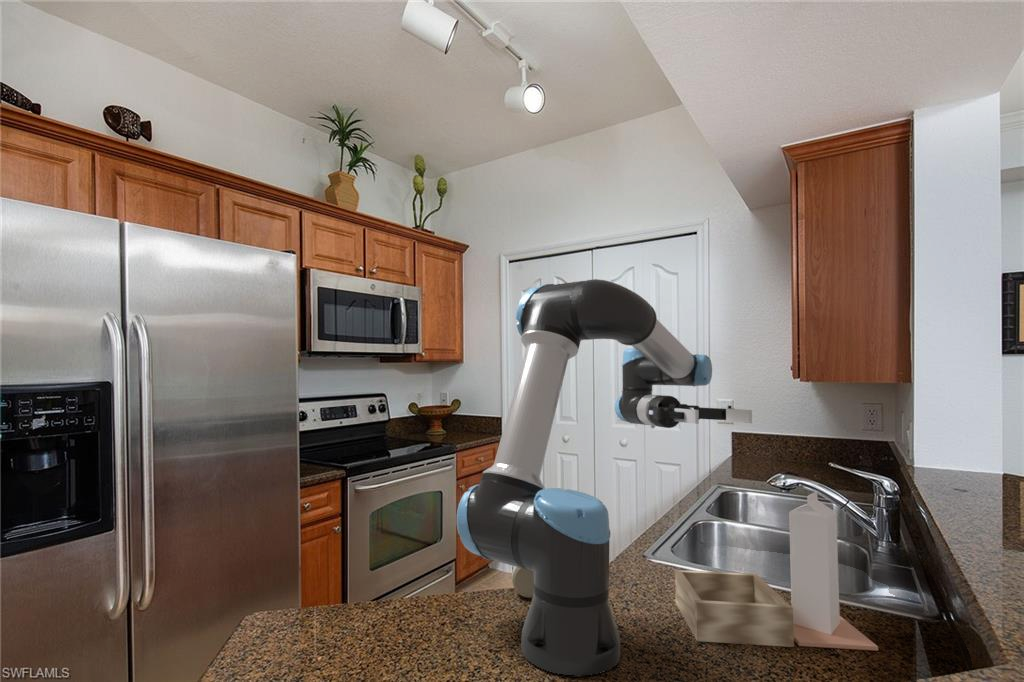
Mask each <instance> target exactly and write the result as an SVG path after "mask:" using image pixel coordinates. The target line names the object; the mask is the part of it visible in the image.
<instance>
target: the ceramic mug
mask: <svg viewBox="0 0 1024 682" xmlns="http://www.w3.org/2000/svg"><path fill="white" fill-rule="evenodd" d="M511 580H512V585H513V587H514V590H515V591H516V592H517V593H518V594H519V595H520V596H521V597H524V598H525V599H526V598H527V599H533V593H534V572H533V571H530V570H527V569H523V568H519V567H516V566H512V571H511ZM515 588H520V589H515Z"/></svg>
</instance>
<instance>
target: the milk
mask: <svg viewBox="0 0 1024 682" xmlns="http://www.w3.org/2000/svg"><path fill="white" fill-rule="evenodd" d="M806 500H807V501H806V503H804V504H803V505H800V506H798V507H796V508H794V509H791V510H790V511H789V512H788V516H789V520H788V521H789V525H788V526H789V558H790V559H789V560H790V561H789V562H790V563H789V564H790V565H789V566H790V602H791V603H790V605H791V606H792V607H793V624H796V625H799V626H802V627H805V628H809V629H812V630H815V631H818V632H822V633H825V634H828V635H831V634H832V633H833V632H834V631H835V629H836V628H837V627H838V626H839V624H840V616H841V614H840V586H839V558H838V557H839V555H838V525H837V512H836V511H835V510H833V509H832V508H830V507H828V506H827V505H826V504H824V503H822V502H821V500H818V492H817V491H814V492H812V493H810V494H808V495H807V497H806Z"/></svg>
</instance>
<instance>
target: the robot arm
mask: <svg viewBox="0 0 1024 682" xmlns="http://www.w3.org/2000/svg"><path fill="white" fill-rule="evenodd" d="M657 318H658V317H657V313H656V311H655V309H654V307H653V306H652V305H651V304H650V303H649V302H648V301H647V300H646V299H644V298H643V297H642V296H640V295H639V294H638V293H636V292H635V291H633V290H631V289H629V288H628V287H625V286H623V285H621V284H618V283H615V282H613V281H609V280H605V279H598V278H595V279H587V280H580V281H572V282H564V283H555V284H554V283H547V284H546V283H545V284H542V285H540V286H536V287H532V288H531V289H528V290H527V291H526V292H525V293H524V294H523V295H522V297H521V298H520V300H519V303H518V304H517V308H516V313H515V320H517V323H515V324H516V328H517V331H518V333H519V335H520V336H521V338H520V341H521V343H522V344H523V347H525V351H524V355H523V359H522V362H521V366H520V369H519V372H518V377H517V380H516V384H515V387H514V390H513V394H512V398H511V401H510V404H509V409H508V412H507V416H506V419H505V423H504V426H503V427H504V428H503V430H502V434H501V437H500V440H499V445H498V446H497V447H498V448H497V451H496V455H495V459H494V463H493V465H492V466H490V467H489V468H487V469H485V470H484V471H482V473H481V477H480V480H479V484H476V485H472V486H470V487H469V488H467V491H465V492H464V493H463V494H462V495H461V498H460V501H459V503H458V505H457V511H456V528H457V534H458V535H459V536H460V542H461V544H462V545H463V546H464V548H465V549H466V550H467V551H468V552H470V553H472V554H475V555H476V556H480V557H482V558H483V559H486V560H488V561H494V562H495V561H496V562H498V563H502V564H505V565H508V566H512V567H513V566H516V567H519V568H523V569H527V570H530V571H533V572H534V593H533V598H531V602H530V605H529V609H528V610H527V614H526V617H525V620H524V623H523V625H522V626H523V627H522V629H521V639H520V640H521V643H520V649H521V653H522V655H523V656H524V658H525V659H526V660H527V662H529V663H530V662H531V663H530V664H531V665H533V664H534V665H533V666H535V665H536V666H537V667H536V666H535V667H536V668H538V667H539V668H538V669H540V668H541V670H543V669H544V670H543V671H545V670H546V671H545V672H548V671H549V672H548V673H551V672H553V673H552V674H555V673H558V674H557V675H559V674H565V675H574V676H573V677H583V676H582V675H591V674H596V673H600V672H603V671H606V672H608V671H610V670H611V669H610V668H612V667H613V668H614V667H615V666H617V665H618V663H619V661H620V658H621V638H620V634H619V631H618V628H617V627H618V626H617V624H616V620H615V617H614V615H613V611H612V607H611V604H610V598H609V597H610V592H609V591H610V587H609V586H610V539H611V529H610V518H609V511H608V508H607V506H606V505H605V504H604V502H603V501H602V500H600V499H599V498H597V497H595V496H593V495H591V494H588V493H585V492H583V491H578V490H573V489H569V488H568V489H564V488H557V487H549V488H545V486H544V484H543V482H542V480H541V477H540V476H541V472H542V469H543V465H544V460H545V457H546V452H547V448H548V443H549V441H550V436H551V432H552V427H553V424H554V420H555V417H556V416H555V415H556V412H557V409H558V408H557V407H558V404H559V403H558V402H559V399H560V394H561V392H562V391H561V390H562V386H563V382H564V378H565V374H566V370H567V366H568V361H569V360H570V359H573V358H574V357H576V356H577V354H578V352H579V349H580V345H581V342H582V341H588V340H589V341H590V340H614V341H617V342H618V343H620V344H621V345H624V346H630V347H629V348H628V347H627V348H626V349H624V350H623V353H622V364H621V367H622V369H621V371H622V390H621V392H622V393H621V395H620V396H618V397H617V399H616V400H615V403H614V412H615V414H616V416H617V417H618V418H619V419H620V420H621V421H622V422H627V423H630V424H636V425H643V426H644V425H645V426H650V428H651V429H655V427H659V428H666V429H671V428H674V427H676V426H678V424H680V423H686V424H693V425H694V424H695V425H697V424H698V425H699V420H714V421H715V420H716V421H726V422H731V423H732V422H734V423H741V424H753V410H752V409H743V408H742V409H740V408H734V407H732V405H727V408H720V407H717V408H716V407H715V408H714V407H700V406H699V405H689V404H686V403H681V401H680V400H679V399H678V398H676V397H675V396H671V395H660V394H653V386H677V387H678V386H679V387H681V386H686V387H702V386H704V387H705V386H707V385H709V384H710V382H711V381H712V379H713V378H712V376H713V364H712V360H711V358H710V357H709V356H708V355H707V354H699V353H697V354H692V352H690V351H689V350H688V349H687V348H686V347H685V345H683V344H682V343H681V342H680V340H678V339H677V337H676V336H674V335H673V334H672V333H671V332H670V331H669V330H668V328H667V327H666V326H664V325H663V323H661V322H660V320H659V319H657ZM613 668H612V669H613ZM609 669H610V670H609ZM607 670H608V671H607ZM603 673H604V672H603ZM600 674H601V673H600ZM565 675H564V676H565ZM578 675H580V676H578ZM591 676H592V675H591Z"/></svg>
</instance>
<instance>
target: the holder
mask: <svg viewBox="0 0 1024 682" xmlns="http://www.w3.org/2000/svg"><path fill="white" fill-rule="evenodd" d="M674 571H675V572H674V573H675V575H674V576H675V605H676V606H677V608H678V610H679V611H680V613H681V615H682V617H683V618H684V621H685V623H686V624H687V626H688V627H689V630H690V631H691V633H692V635H693V637H694V638H695V640H696V641H697V642H703V643H705V642H707V643H721V644H723V643H724V644H737V645H738V644H739V645H756V646H768V647H769V646H771V647H772V646H773V647H787V648H788V647H790V648H794V647H795V641H794V626H793V607H792V606H791V603H789V602H788V601H786V599H784V598H783V597H782V596H781V595H780V594H779V593H778V592H777V591H776V590H774V588H772V587H771V585H770V584H768V583H767V582H766V581H765V580H764V579H763V578H762V577H761V576H760V575H759V574H758V573H748V572H747V573H746V572H745V573H744V572H743V573H742V572H725V571H723V572H722V571H704V570H688V569H687V570H684V569H683V570H682V569H675V570H674Z"/></svg>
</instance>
